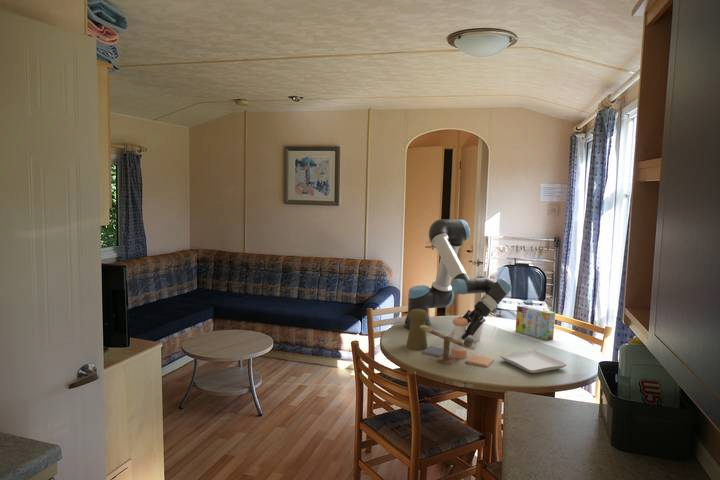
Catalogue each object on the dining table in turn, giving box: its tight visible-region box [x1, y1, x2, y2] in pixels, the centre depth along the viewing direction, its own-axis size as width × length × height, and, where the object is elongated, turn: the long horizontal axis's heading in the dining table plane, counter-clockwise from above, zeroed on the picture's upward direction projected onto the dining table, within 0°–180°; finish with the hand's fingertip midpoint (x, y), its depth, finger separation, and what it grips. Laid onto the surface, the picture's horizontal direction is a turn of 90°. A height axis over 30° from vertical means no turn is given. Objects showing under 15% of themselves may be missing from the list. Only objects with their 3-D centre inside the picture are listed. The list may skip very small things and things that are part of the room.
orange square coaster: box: [465, 354, 495, 368], centre depth 226 cm, size 10×10×1 cm
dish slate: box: [421, 345, 444, 358], centre depth 238 cm, size 10×10×1 cm
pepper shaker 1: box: [406, 309, 428, 352], centre depth 244 cm, size 10×10×19 cm
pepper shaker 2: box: [450, 315, 468, 359], centre depth 233 cm, size 7×7×19 cm
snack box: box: [515, 304, 556, 341], centre depth 271 cm, size 21×6×15 cm, turn 35°
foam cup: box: [466, 317, 485, 342], centre depth 260 cm, size 10×9×13 cm
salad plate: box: [499, 349, 568, 374], centre depth 223 cm, size 21×21×3 cm
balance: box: [420, 325, 476, 365], centre depth 225 cm, size 27×6×15 cm, turn 58°
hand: (452, 340), depth 232 cm, fingers open, 7 cm apart
